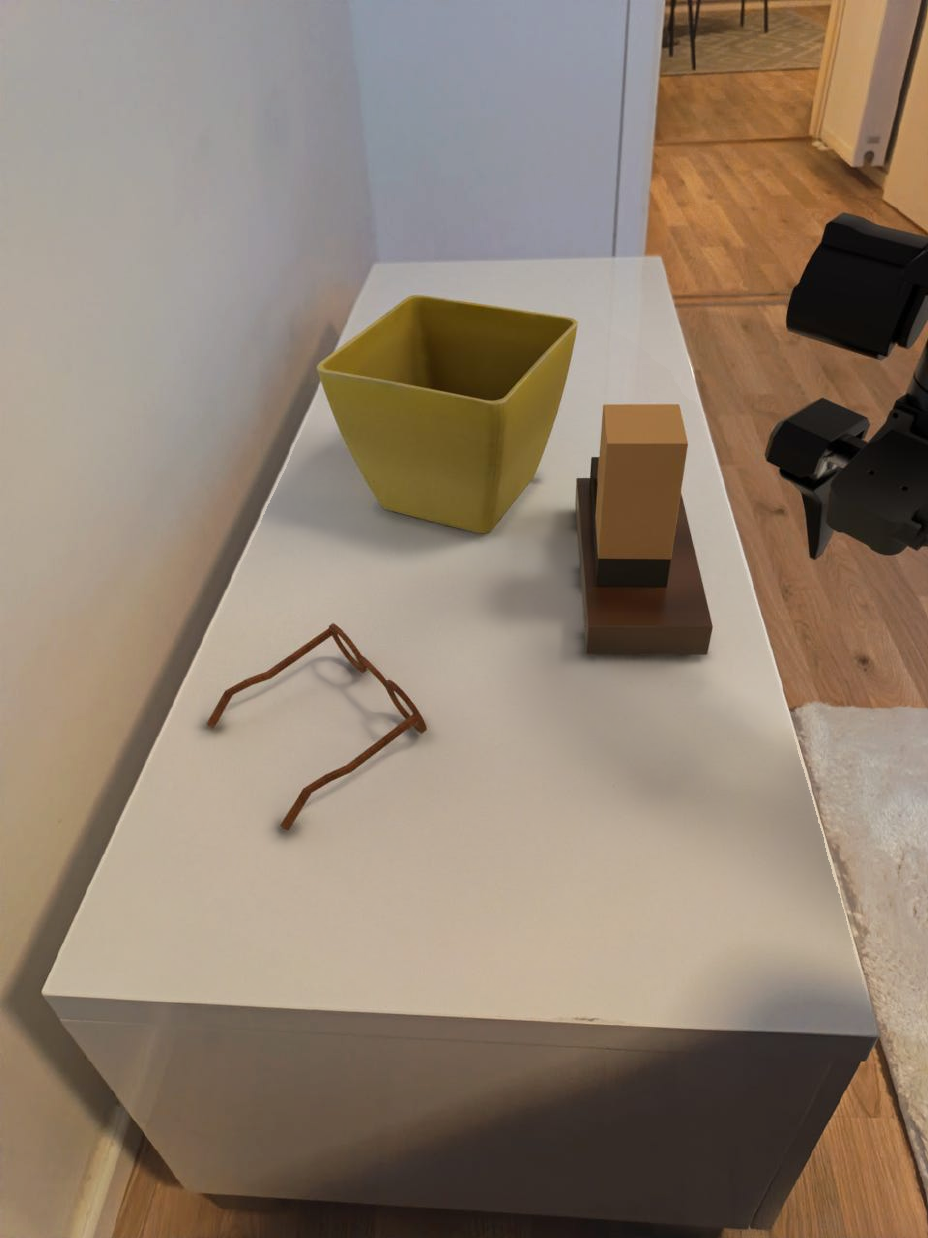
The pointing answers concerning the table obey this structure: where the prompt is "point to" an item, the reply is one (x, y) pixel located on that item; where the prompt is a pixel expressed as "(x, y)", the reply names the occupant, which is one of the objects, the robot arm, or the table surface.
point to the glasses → (361, 667)
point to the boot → (637, 493)
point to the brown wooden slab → (643, 598)
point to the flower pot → (450, 405)
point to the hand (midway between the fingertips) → (874, 589)
